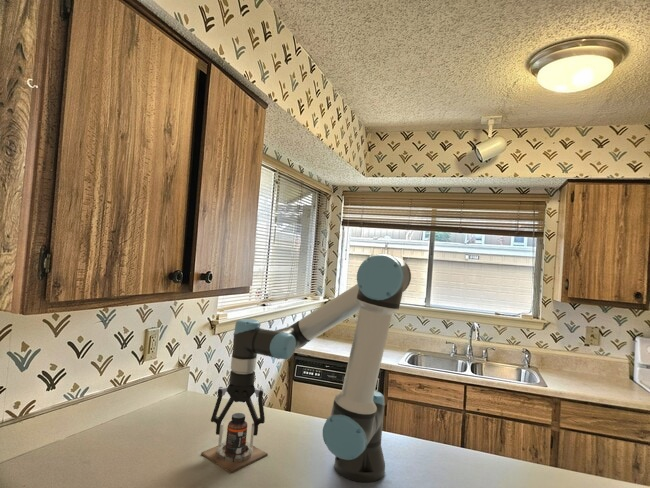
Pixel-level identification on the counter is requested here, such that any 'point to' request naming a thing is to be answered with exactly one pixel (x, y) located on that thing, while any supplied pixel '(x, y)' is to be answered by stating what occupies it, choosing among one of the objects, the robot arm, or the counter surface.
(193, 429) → the counter surface
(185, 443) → the counter surface
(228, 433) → the supplement bottle
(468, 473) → the counter surface
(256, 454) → the seat board
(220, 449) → the collar
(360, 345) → the robot arm
